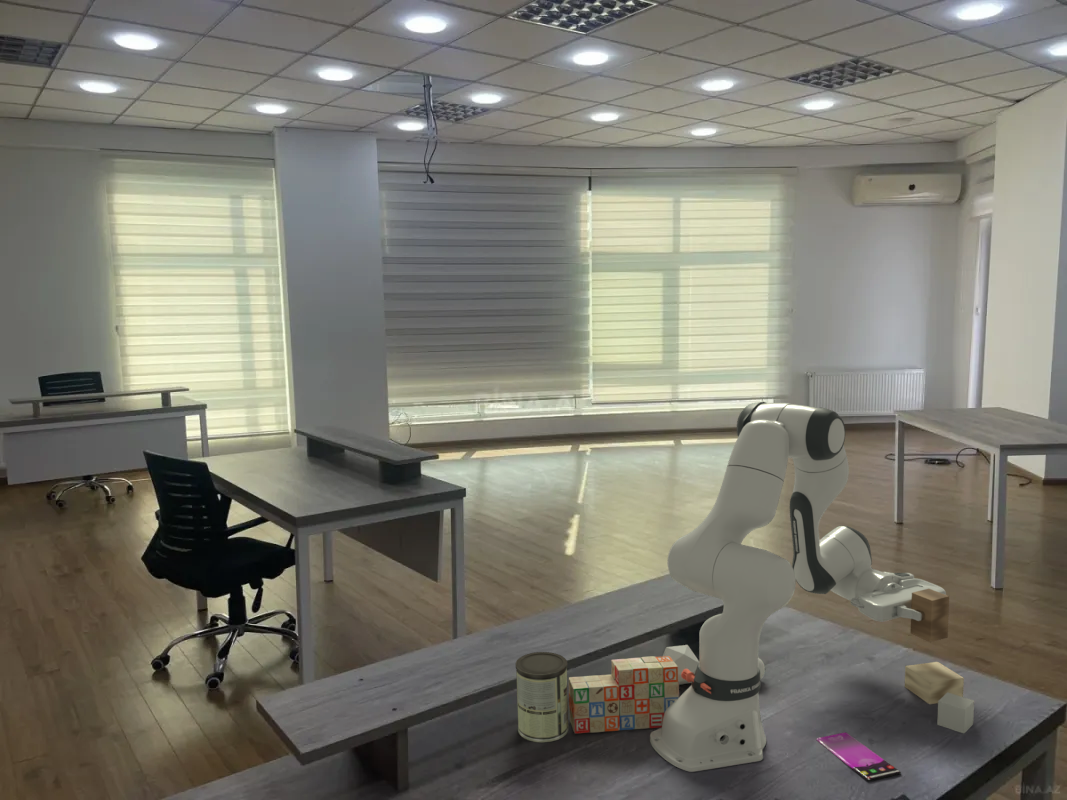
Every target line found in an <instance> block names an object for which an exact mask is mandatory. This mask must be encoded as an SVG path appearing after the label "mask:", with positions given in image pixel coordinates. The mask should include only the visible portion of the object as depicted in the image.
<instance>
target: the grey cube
mask: <svg viewBox="0 0 1067 800" xmlns="http://www.w3.org/2000/svg"><path fill="white" fill-rule="evenodd" d="M974 712H975V700H974V699H970V698H967V697H965V696H963V697H961V696H958V695H954V694H951V693H948V692H947V693H946V694H945V695H944V696H943V697H942V698H941V699H940V700H939V701H938V703H937V720H936V721H937V723H936V724H937V726H941V727H943V728H947V729H949V730H952V731H955V732H958V733H961V734H965V733H966V732H967V731H968V730H970V728H971V727H972V726H973V725H974V718H975V717H974V715H975V713H974Z"/></svg>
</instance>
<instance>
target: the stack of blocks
mask: <svg viewBox="0 0 1067 800" xmlns="http://www.w3.org/2000/svg"><path fill="white" fill-rule="evenodd" d="M662 656H663V655H662ZM662 656H655V655H654V656H653V655H652V656H642V657H641V656H640V657H630V658H619V659H618V658H617V659H611V660H610V662H611V670H610V671H611V674H610V673H609V674H601V675H584V676H570V677H568V707H569V708H568V711H569V712H568V714H569V722H570V725H571V728H572V730H573V732H574V734H585V733H586V734H587V733H602V732H615V731H617V732H618V731H627V730H628V731H629V730H642V729H656V728H657V729H660V728H662V723H663V717H664V713H665V711H666V709H667V708H668V707H669V706H670V705H672V704H673V703H674V702H675V701H676V700H677V699H678V698H679V697H680V690H679V689H680V685H679V681H678V666H677V665H676V664H675V662H674V661H673V660H672V659H671V658H670V656H663V657H662Z"/></svg>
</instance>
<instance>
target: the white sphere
mask: <svg viewBox="0 0 1067 800" xmlns="http://www.w3.org/2000/svg"><path fill="white" fill-rule="evenodd" d="M765 667H766V666H765V664H764V662H763V660H762V659H761V658H760V657H758V668H759V669H760V680H762V679H763V678H764V676H765V674H766V673H765V671H766V668H765Z"/></svg>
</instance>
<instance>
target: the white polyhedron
mask: <svg viewBox="0 0 1067 800" xmlns="http://www.w3.org/2000/svg"><path fill="white" fill-rule="evenodd" d="M663 656H670V658H671V659H672V660H673V661H674V662H675V664H676V665H677V666H678V681H679V686H680V685H686V684H687V685H688V684H691V683H692V682H687V681H686V680H685V679H683V678H682V677H681V674H682V673H681V672H683V670H684V669H688V670H690V672H693V673H694V674H695V671H696V668H697V666H698V664H699V659H698V658H697V656H696V655H695V653H694V652H693V650H692V649H691V648H690V646H689V645H688V644H685V645H684V644H683V645H674V646H667V647H665V649H664V652H663V654H662V656H661V657H663Z"/></svg>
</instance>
